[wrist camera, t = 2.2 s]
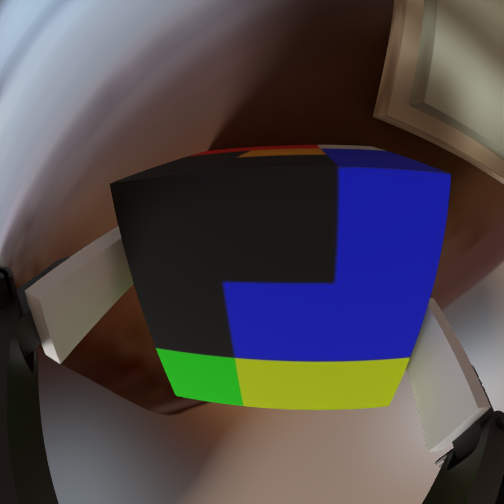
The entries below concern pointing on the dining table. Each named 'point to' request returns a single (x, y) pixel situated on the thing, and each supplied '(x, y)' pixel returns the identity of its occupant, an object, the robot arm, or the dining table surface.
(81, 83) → the dining table surface
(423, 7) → the plinth
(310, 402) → the puzzle toy
